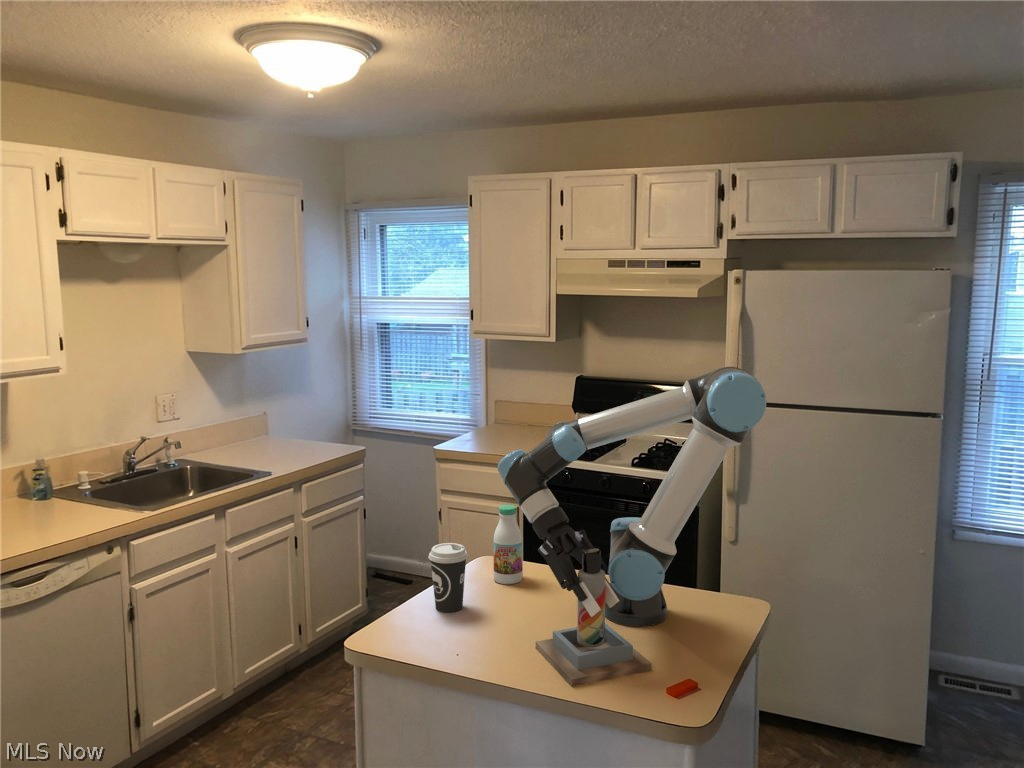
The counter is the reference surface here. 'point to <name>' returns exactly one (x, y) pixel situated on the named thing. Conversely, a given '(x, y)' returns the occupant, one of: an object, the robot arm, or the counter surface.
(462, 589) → the coffee cup
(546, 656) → the stand board
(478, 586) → the counter surface
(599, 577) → the lotion bottle
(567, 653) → the bottle collar
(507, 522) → the milk bottle
